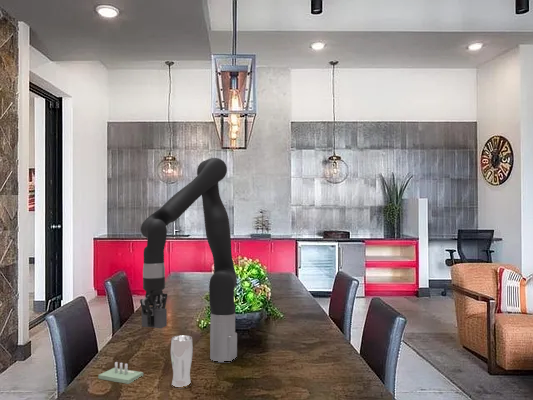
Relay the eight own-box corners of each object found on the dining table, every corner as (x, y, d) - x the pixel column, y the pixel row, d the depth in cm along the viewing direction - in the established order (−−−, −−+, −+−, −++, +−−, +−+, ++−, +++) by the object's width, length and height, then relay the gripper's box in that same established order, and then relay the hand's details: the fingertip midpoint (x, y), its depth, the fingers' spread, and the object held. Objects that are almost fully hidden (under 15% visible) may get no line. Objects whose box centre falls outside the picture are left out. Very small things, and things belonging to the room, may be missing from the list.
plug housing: (166, 325, 173) (166, 308, 173) (160, 328, 170) (160, 310, 170) (147, 324, 176) (147, 307, 176) (141, 326, 172) (141, 309, 172)
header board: (143, 376, 166) (143, 361, 166) (128, 383, 159) (128, 369, 159) (114, 371, 171) (114, 357, 171) (98, 378, 163) (98, 364, 163)
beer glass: (193, 381, 162) (194, 335, 162) (191, 388, 155) (191, 340, 155) (172, 381, 162) (172, 335, 162) (168, 389, 155) (169, 340, 155)
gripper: (151, 279, 165) (152, 330, 165) (174, 273, 178) (174, 321, 178) (132, 278, 168) (133, 329, 167) (156, 272, 181) (156, 320, 181)
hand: (154, 324), depth 173 cm, fingers closed on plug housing, 3 cm apart
